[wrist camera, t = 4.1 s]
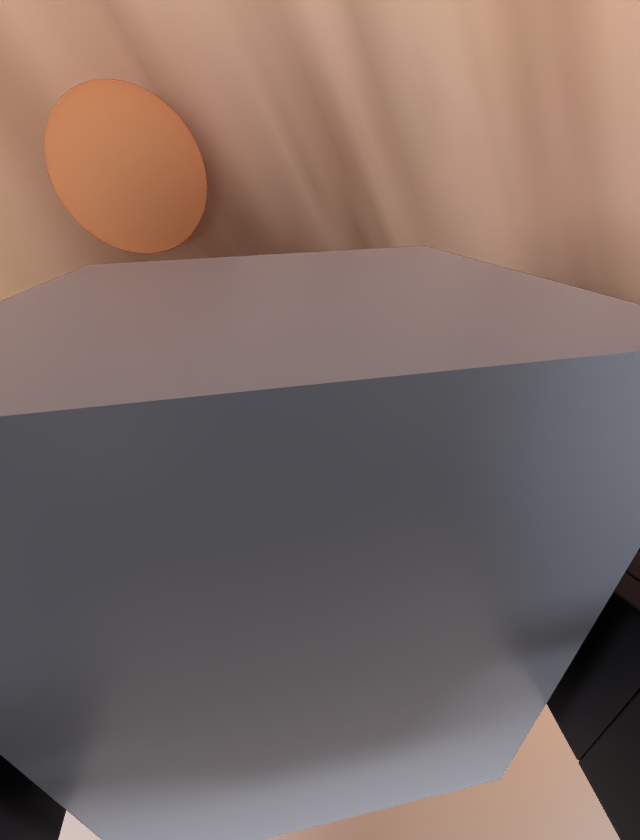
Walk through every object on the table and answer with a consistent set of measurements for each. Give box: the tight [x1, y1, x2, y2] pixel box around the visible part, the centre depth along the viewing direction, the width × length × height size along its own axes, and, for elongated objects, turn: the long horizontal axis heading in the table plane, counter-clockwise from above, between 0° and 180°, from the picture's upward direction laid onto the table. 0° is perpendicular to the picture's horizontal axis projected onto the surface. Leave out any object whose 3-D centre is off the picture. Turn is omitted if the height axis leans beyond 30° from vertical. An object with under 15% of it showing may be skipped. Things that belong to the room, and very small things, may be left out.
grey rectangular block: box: [0, 246, 640, 840], centre depth 8 cm, size 8×10×7 cm
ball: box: [44, 79, 207, 253], centre depth 13 cm, size 5×5×5 cm
